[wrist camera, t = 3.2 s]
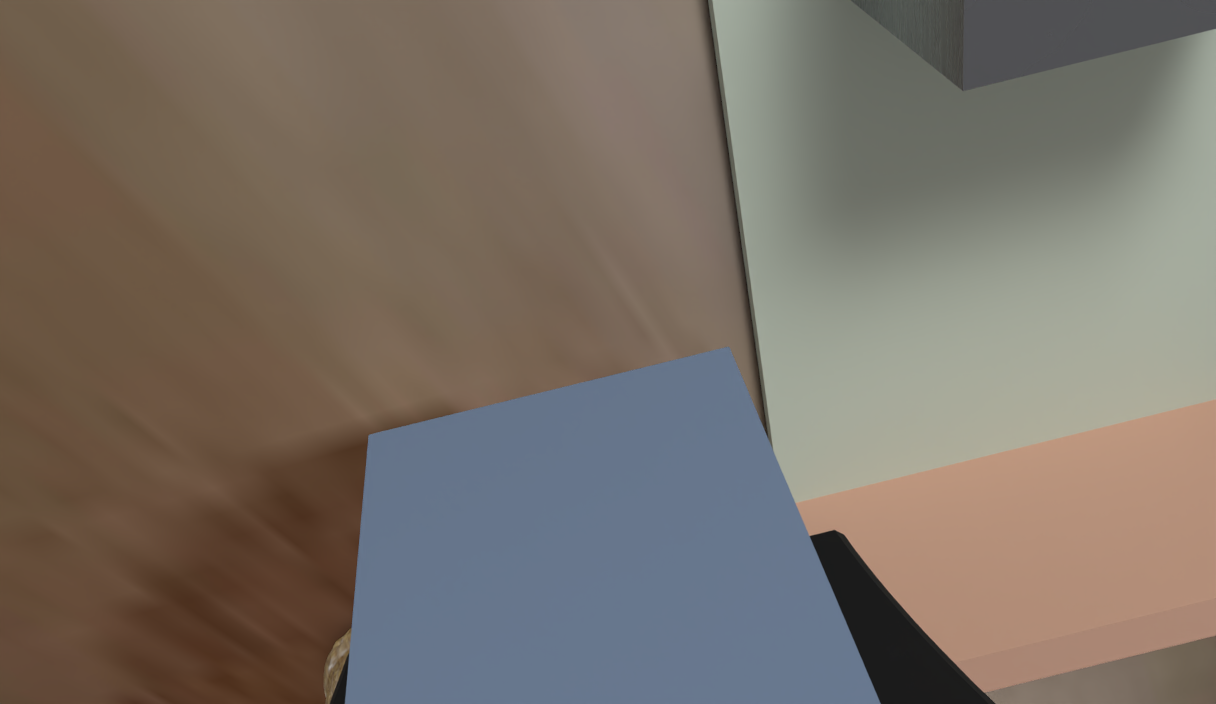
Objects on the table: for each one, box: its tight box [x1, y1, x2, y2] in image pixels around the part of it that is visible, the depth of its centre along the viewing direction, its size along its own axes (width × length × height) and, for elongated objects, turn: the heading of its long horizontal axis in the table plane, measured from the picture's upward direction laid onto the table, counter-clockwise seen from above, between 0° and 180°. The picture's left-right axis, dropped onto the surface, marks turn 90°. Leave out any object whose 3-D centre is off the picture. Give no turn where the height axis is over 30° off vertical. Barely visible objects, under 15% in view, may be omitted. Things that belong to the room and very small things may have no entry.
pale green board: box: [708, 0, 1216, 692], centre depth 17 cm, size 11×17×5 cm, turn 12°
